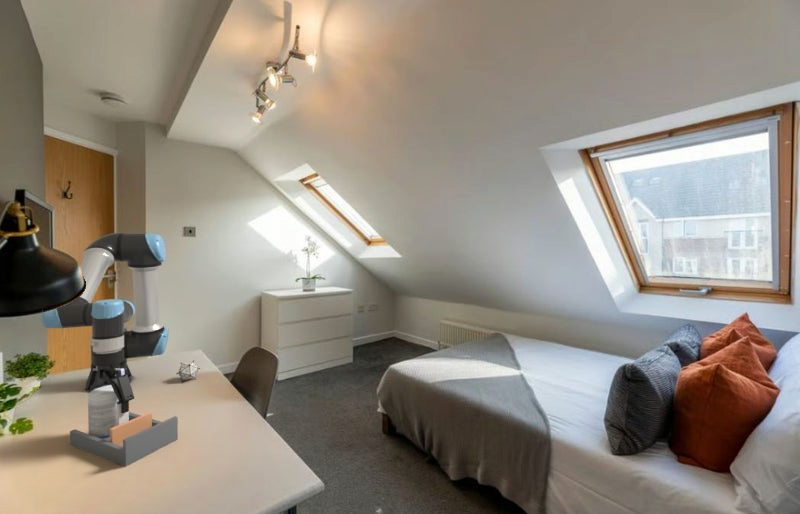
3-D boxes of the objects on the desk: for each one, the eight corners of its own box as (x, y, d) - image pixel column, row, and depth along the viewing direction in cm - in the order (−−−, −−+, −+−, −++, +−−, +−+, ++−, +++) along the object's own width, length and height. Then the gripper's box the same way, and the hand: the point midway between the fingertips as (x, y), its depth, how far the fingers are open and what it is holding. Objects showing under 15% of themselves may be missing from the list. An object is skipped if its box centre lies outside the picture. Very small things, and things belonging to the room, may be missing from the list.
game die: (182, 389, 153) (167, 372, 152) (198, 376, 161) (183, 359, 159) (193, 383, 149) (177, 365, 148) (208, 369, 157) (193, 352, 155)
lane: (70, 444, 104) (69, 421, 103) (123, 422, 117) (123, 401, 117) (125, 466, 94) (125, 440, 94) (177, 439, 107) (177, 416, 107)
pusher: (110, 453, 99) (109, 428, 99) (149, 434, 109) (149, 412, 109) (119, 456, 98) (119, 432, 98) (158, 437, 108) (158, 415, 108)
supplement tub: (126, 439, 107) (126, 391, 107) (85, 448, 102) (84, 398, 101) (129, 425, 115) (129, 381, 115) (91, 433, 110) (91, 387, 109)
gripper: (70, 348, 109) (71, 415, 109) (120, 359, 99) (121, 432, 100) (98, 342, 116) (99, 405, 116) (147, 352, 106) (148, 420, 107)
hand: (109, 418), depth 108 cm, fingers open, 13 cm apart
